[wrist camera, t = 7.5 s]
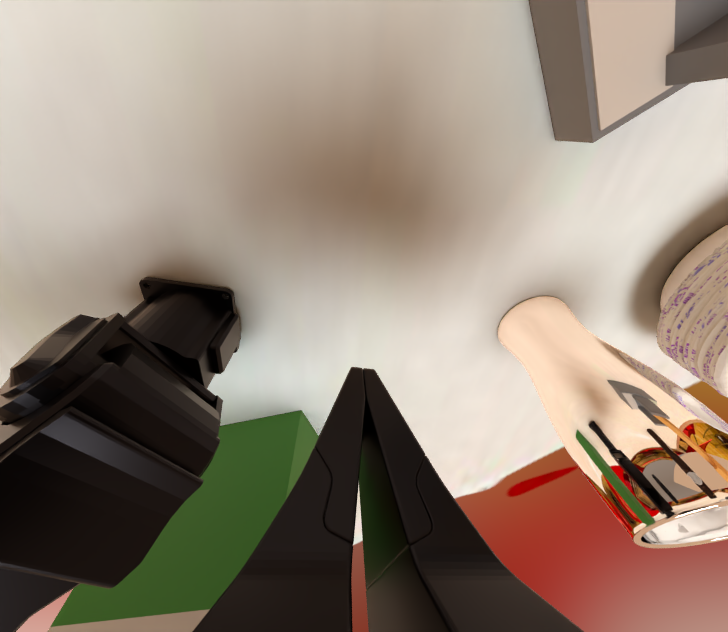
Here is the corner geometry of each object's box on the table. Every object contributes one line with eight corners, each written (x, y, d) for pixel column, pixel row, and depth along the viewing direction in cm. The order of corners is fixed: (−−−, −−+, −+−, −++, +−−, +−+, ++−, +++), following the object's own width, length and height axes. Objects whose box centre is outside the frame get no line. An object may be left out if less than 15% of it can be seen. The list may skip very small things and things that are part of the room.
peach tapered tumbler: (511, 287, 22) (719, 493, 9) (588, 294, 22) (874, 493, 10) (480, 350, 26) (598, 551, 13) (546, 353, 26) (715, 548, 14)
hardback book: (201, 464, 36) (26, 857, 17) (164, 436, 32) (-126, 918, 13) (323, 443, 34) (286, 859, 15) (301, 410, 30) (210, 931, 11)
